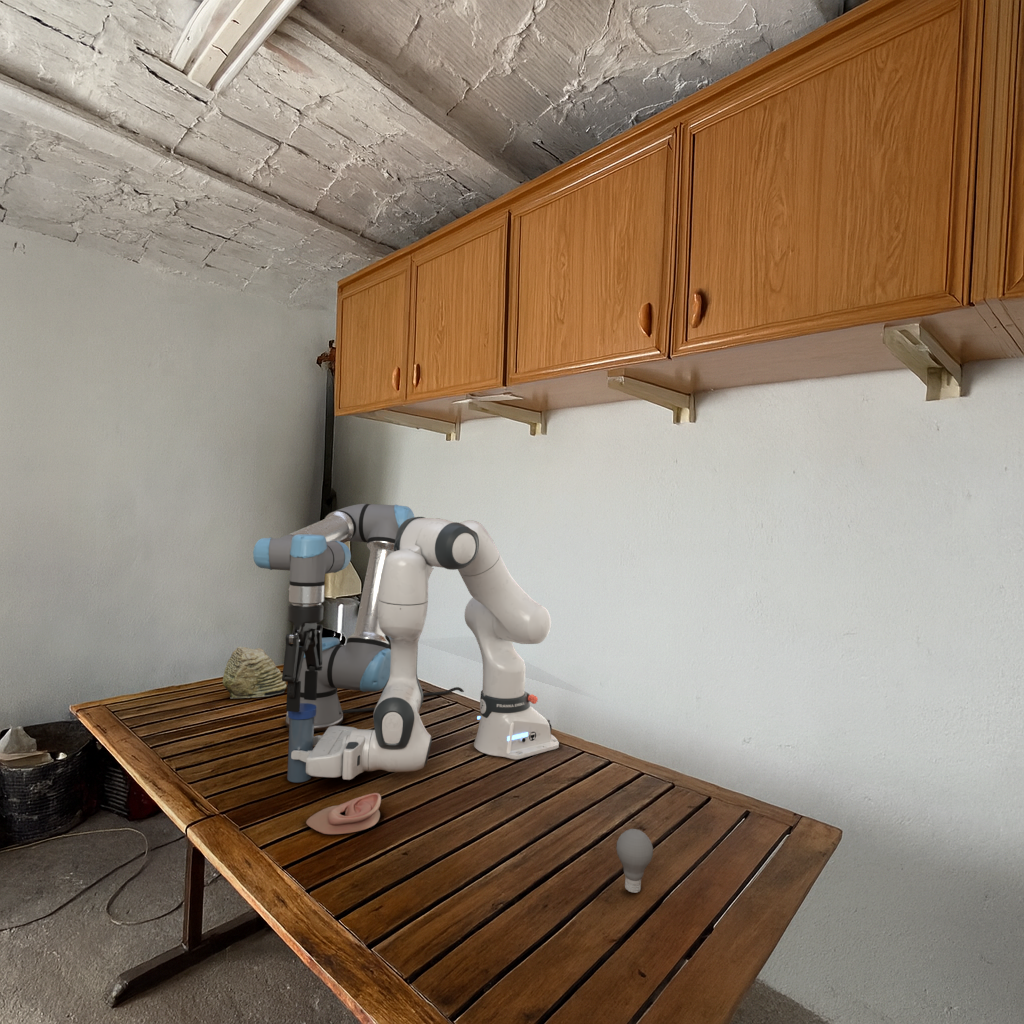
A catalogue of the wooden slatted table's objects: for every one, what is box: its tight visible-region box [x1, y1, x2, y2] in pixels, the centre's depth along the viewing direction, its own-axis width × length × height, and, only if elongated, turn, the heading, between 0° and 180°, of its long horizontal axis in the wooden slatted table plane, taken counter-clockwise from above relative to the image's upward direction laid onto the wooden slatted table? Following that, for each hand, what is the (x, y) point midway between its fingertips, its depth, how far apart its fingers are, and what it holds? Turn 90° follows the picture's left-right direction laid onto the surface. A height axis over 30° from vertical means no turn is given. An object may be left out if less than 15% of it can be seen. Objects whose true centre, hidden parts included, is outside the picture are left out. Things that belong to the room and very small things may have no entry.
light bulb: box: [615, 828, 654, 894], centre depth 106 cm, size 6×6×10 cm
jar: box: [286, 716, 315, 784], centre depth 142 cm, size 5×5×15 cm
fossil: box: [222, 646, 287, 699], centre depth 198 cm, size 9×18×15 cm, turn 132°
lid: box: [288, 703, 316, 720], centre depth 142 cm, size 6×6×2 cm
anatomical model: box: [305, 792, 382, 835], centre depth 124 cm, size 13×4×12 cm
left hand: (301, 704), depth 142 cm, fingers open, 8 cm apart
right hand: (296, 748), depth 142 cm, fingers closed on jar, 5 cm apart
